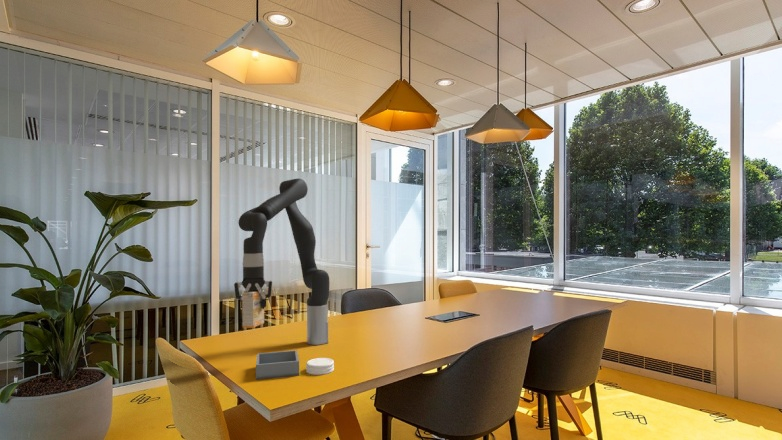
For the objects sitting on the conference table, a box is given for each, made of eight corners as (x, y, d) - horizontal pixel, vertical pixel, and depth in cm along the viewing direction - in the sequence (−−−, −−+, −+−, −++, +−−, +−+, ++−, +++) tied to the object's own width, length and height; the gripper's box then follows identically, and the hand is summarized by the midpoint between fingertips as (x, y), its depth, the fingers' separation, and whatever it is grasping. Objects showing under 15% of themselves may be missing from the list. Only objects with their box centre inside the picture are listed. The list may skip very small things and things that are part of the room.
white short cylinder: (309, 377, 152) (309, 367, 152) (303, 369, 161) (303, 359, 161) (337, 373, 156) (337, 363, 156) (329, 365, 165) (329, 356, 165)
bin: (296, 363, 167) (296, 350, 167) (299, 375, 153) (299, 361, 153) (257, 366, 163) (257, 353, 164) (255, 379, 149) (255, 365, 149)
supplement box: (253, 328, 160) (253, 292, 160) (242, 327, 161) (241, 292, 161) (265, 323, 168) (264, 289, 168) (253, 323, 169) (253, 289, 169)
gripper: (273, 263, 170) (273, 306, 170) (234, 265, 167) (234, 308, 167) (272, 265, 163) (273, 309, 163) (232, 266, 160) (232, 312, 159)
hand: (253, 309), depth 165 cm, fingers closed on supplement box, 6 cm apart
